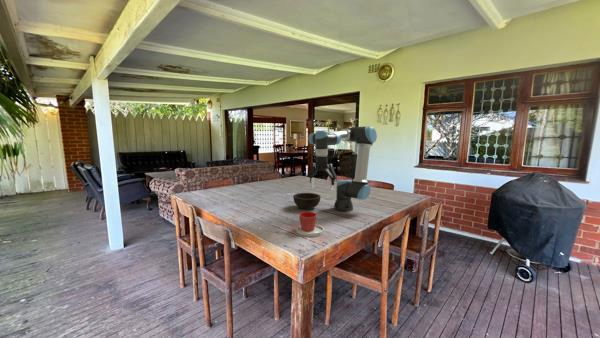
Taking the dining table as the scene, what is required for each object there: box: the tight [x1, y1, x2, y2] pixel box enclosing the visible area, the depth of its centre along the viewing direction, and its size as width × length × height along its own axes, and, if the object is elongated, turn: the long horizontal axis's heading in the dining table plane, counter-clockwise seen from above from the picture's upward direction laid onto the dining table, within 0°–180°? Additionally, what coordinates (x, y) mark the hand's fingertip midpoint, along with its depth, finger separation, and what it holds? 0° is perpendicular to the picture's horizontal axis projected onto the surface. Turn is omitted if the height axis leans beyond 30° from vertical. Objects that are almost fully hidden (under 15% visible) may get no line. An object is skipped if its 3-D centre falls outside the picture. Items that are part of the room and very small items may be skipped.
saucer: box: [296, 223, 325, 238], centre depth 158 cm, size 17×17×2 cm
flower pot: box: [298, 211, 317, 232], centre depth 159 cm, size 11×11×10 cm
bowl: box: [292, 192, 322, 210], centre depth 208 cm, size 22×22×10 cm
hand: (321, 189), depth 165 cm, fingers open, 13 cm apart
